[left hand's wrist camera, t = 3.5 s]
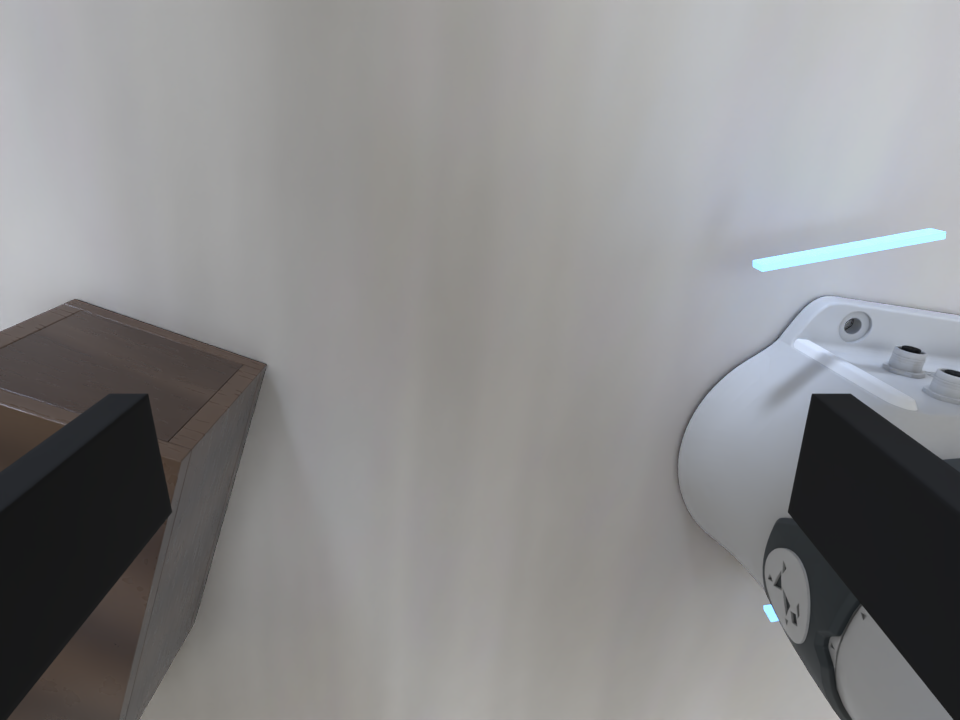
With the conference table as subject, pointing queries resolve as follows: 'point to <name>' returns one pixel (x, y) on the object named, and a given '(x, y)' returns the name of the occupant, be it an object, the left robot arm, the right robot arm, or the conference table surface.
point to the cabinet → (188, 472)
